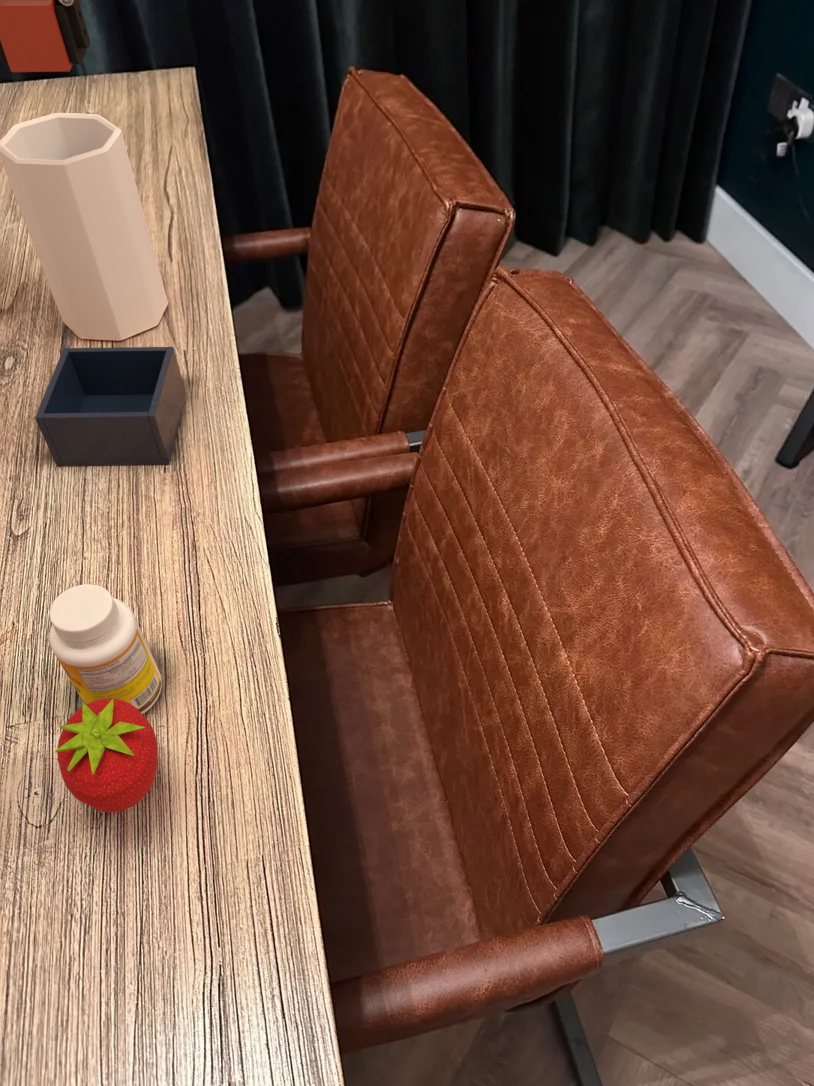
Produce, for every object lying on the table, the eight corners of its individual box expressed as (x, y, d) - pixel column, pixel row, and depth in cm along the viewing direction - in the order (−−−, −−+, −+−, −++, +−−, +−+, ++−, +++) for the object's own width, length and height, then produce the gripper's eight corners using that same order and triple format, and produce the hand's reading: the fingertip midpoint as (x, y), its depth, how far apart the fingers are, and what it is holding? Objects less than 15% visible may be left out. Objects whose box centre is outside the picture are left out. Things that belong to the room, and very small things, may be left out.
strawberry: (165, 733, 62) (126, 650, 54) (186, 825, 57) (147, 749, 50) (79, 761, 60) (26, 679, 52) (95, 858, 56) (40, 785, 48)
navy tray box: (56, 466, 79) (34, 417, 75) (82, 396, 86) (63, 347, 81) (169, 464, 79) (154, 415, 75) (186, 394, 86) (173, 346, 82)
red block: (11, 72, 68) (-12, 5, 65) (25, 51, 71) (3, -14, 68) (69, 71, 68) (49, 5, 65) (81, 50, 71) (62, -15, 68)
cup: (162, 278, 99) (115, 104, 85) (175, 332, 93) (126, 153, 78) (60, 295, 97) (-6, 119, 83) (66, 351, 90) (-5, 170, 76)
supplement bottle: (88, 668, 65) (39, 579, 57) (164, 657, 66) (126, 568, 58) (83, 732, 62) (31, 647, 54) (163, 719, 62) (123, 633, 54)
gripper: (91, -268, 58) (159, 40, 72) (-169, -269, 57) (-49, 43, 72) (67, -251, 53) (145, 75, 68) (-217, -252, 53) (-78, 79, 67)
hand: (45, 56), depth 69 cm, fingers closed on red block, 4 cm apart
